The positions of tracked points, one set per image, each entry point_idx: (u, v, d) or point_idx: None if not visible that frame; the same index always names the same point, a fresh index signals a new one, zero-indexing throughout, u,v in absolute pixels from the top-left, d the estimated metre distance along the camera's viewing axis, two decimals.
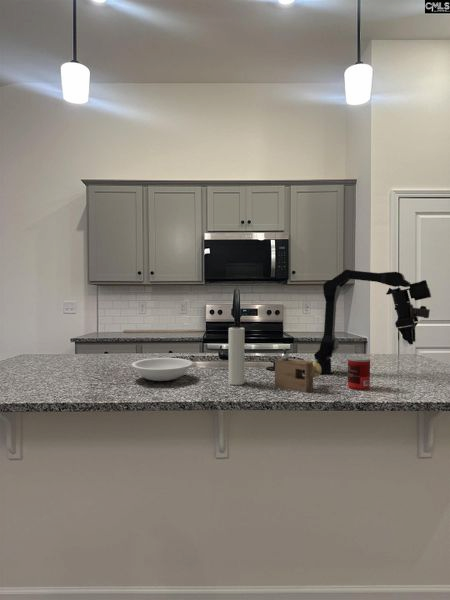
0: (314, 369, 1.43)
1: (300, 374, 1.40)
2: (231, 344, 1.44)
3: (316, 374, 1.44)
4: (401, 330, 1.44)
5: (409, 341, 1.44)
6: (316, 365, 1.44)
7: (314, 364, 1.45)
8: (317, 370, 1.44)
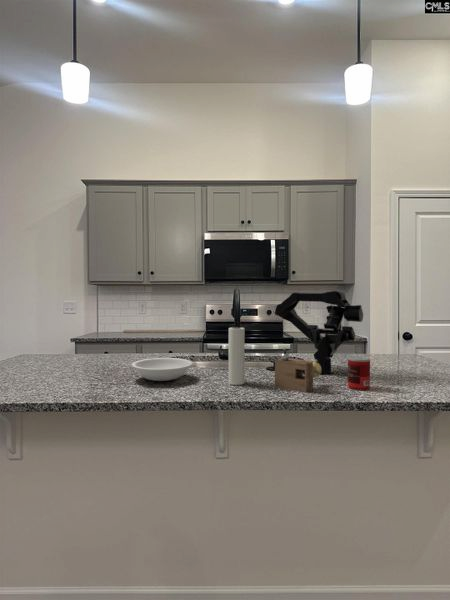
0: (314, 369, 1.43)
1: (300, 374, 1.40)
2: (231, 344, 1.45)
3: (316, 374, 1.44)
4: (342, 334, 1.51)
5: (336, 346, 1.50)
6: (316, 365, 1.44)
7: (314, 364, 1.45)
8: (317, 370, 1.44)
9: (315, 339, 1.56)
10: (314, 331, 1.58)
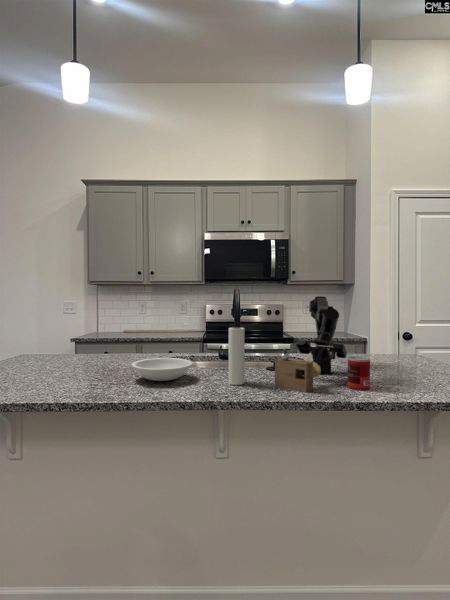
0: (313, 369, 1.42)
1: (300, 374, 1.40)
2: (231, 344, 1.45)
3: (315, 374, 1.44)
4: (323, 351, 1.46)
5: None
6: (315, 365, 1.44)
7: (313, 364, 1.44)
8: (316, 370, 1.43)
9: (314, 357, 1.46)
10: (313, 348, 1.48)
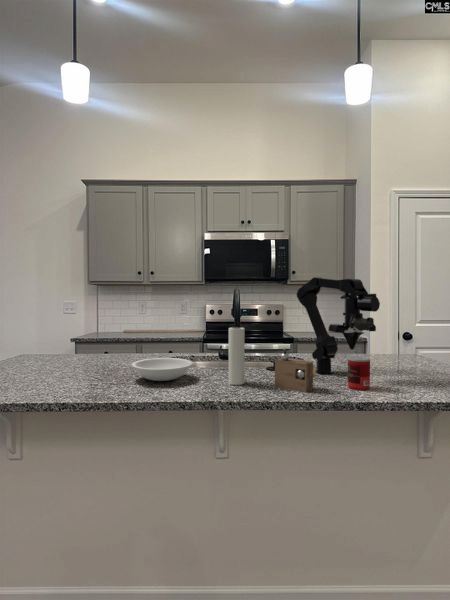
0: None
1: None
2: (231, 344, 1.44)
3: None
4: (344, 334, 1.55)
5: (349, 346, 1.55)
6: None
7: None
8: None
9: None
10: None
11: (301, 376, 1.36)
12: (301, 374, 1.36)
